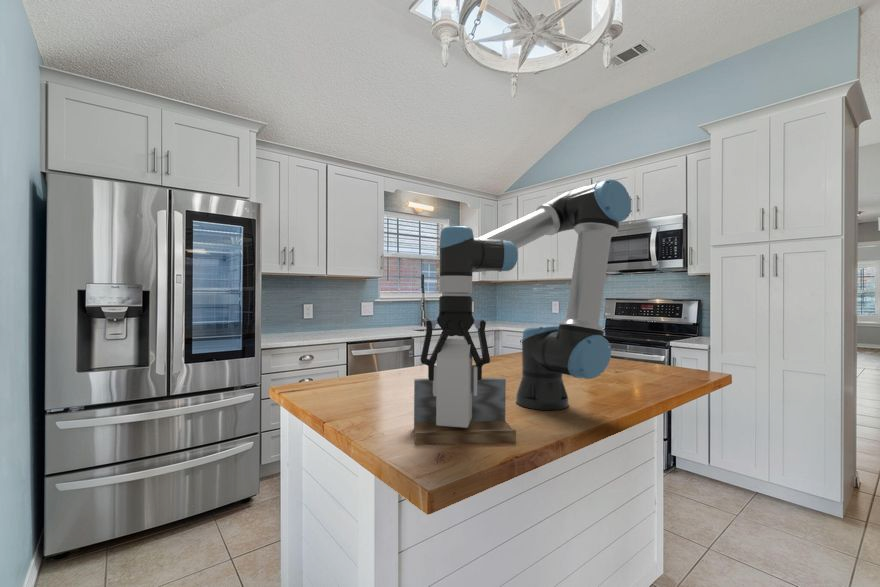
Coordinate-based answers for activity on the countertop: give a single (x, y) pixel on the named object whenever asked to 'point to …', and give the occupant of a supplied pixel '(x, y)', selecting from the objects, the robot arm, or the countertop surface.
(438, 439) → the wall board
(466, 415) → the milk carton
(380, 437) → the countertop surface
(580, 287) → the robot arm
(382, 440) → the countertop surface
